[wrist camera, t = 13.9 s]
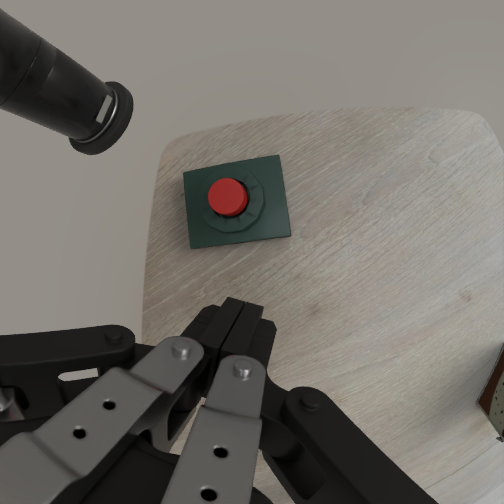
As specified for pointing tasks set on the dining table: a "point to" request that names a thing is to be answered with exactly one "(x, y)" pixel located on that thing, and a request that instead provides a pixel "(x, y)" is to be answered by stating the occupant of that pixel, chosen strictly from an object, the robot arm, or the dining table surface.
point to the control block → (251, 217)
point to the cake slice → (494, 397)
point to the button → (227, 197)
